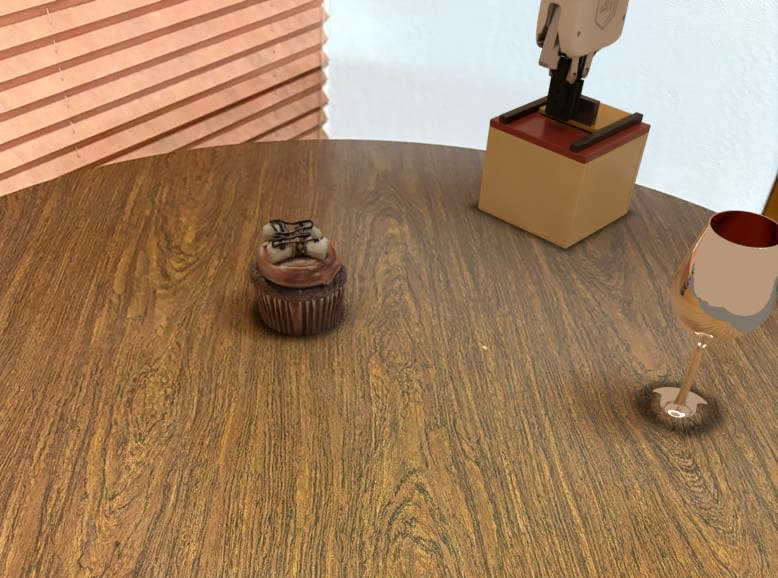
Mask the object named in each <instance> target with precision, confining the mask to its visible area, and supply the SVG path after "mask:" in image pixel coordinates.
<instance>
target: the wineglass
mask: <svg viewBox="0 0 778 578" xmlns="http://www.w3.org/2000/svg"><path fill="white" fill-rule="evenodd" d="M669 296H670V297H669V299H670V304H671V308H672V310H673V313H674V315H675V317H676V318H677V321H678V322H679V323H680V324H681V326H683V328H684V329H685V330H686V331H687V332H688V333H689V335H691V337H692V338H693V340H694V342H695V349H694V352H693V355H692V356H691V360H690V362H689V365H688V367H687V371H686V373H685V375H684V379H683V380H682V383H681V385H680V387H673V386H662V387H658V388H654V389H652V392H654V393H657V394H659V395H660V401H659V405H660V407H661V409H662V410H663V412H665V413H666V414H668V415H669V416H672V417H675V418H680V419H685V418H690V417H692V416H694V415H695V413H697V407H698V404H704V405H708V402H707V401H706V400H705V399H704V398H703V397H702V396H700V395H699V394H696V393H694V392H693V391H690V390H691V387H692V385H693V382H694V379H695V376H696V374H697V372H698V370H699V367H700V364H701V362H702V359H703V357H704V355H705V352H706V350H707V349H708V348H709V347H711V346H713V345H715V344H719V343H723V342H727V341H731V340H736V339H738V338H741V337H744V336H746V335H748V334H749V333H751V332H753V331H755V330H756V329H757V328H759V326H761V325H762V324H763V323H764V322H765V321H766V320H767V319H768V318H769V316H770V315H771V313H772V311H773V310H774V307H775V305H776V302H777V299H778V222H777V221H775V220H774V219H772V218H770V217H768V216H766V215H763V214H760V213H758V212H753V211H748V210H740V209H729V210H722V211H718V212H717V213H714V214H713V215H712V216H711V217H710V218H709V219H708V221H707V222H706V224H705V225H704V227H703V229H702V230H701V231H700V233H699V234H698V236H697V237H696V238H695V240H694V241H693V243H692V244H691V246H690V247H689V249H688V250H687V252H686V253H685V255H684V256H683V258H682V260H681V261H680V263H679V265H678V266H677V268H676V270H675V272H674V275H673V276H672V280H671V283H670V287H669Z"/></svg>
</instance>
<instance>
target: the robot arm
mask: <svg viewBox="0 0 778 578" xmlns="http://www.w3.org/2000/svg"><path fill="white" fill-rule="evenodd" d="M629 2H630V0H540V4H539V10H538V14H537V20H536V21H537V22H536V29H535V43H536V45H537V47H538V48H540V49H541V51H540V55H539V59H538V66H540V67H543V68H545V69H548V77H550V80H549V85H548V91H547V95H548V96H547V95H546V96H547V101H546V106H545V114H546V115H549V116H551V117H554V118H557V119H559V120H562V121H564V122H567V121H570V120H571V119H574V118H576V116H577V112H578V108H579V103H580V99H581V94H582V95H583V89H584V84H585V80H584V79H587V77H588V75H589V74H590V70H591V66H592V62H593V59H594V57H595V56H596V54H597V53H599V52H600V51H601V50H602V49H604V48H607V47H609V46H611V45H613V44H614V43H616V42H617V41H618V40H619V39H620V38H621V36H622V34H623V31H624V27H625V23H626V17H627V12H628V8H629Z"/></svg>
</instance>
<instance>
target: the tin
mask: <svg viewBox="0 0 778 578" xmlns="http://www.w3.org/2000/svg"><path fill="white" fill-rule="evenodd" d="M547 96H548V94H547V95H545V96H542V97H539V98H537V99H535V100H532V101H530V102H528V103H525V104H523V105H521V106H519V107H515V108H513V109H511V110H508V111H506V112H503V113H501V114H499V115H497V116H494V117H492V118H490V119H489V127H488V133H487V138H486V140H487V141H486V147H485V154H484V161H483V169H482V175H481V182H480V183H481V184H480V190H479V197H478V206H477V209H479V210H481V211H483V212H485V213H487V214H490V215H491V216H494V217H496V218H498V219H500V220H503V221H505V222H507V223H509V224H511V225H514V226H516V227H517V228H520V229H522V230H524V231H526V232H529V233H531V234H533V235H535V236H537V237H539V238H541V239H543V240H545V241H547V242H550V243H552V244H553V245H557V246H559V247H560V248H563V249H565V250H566V249H568V248H569V247H572V246H573V245H574V244H576V243H578V242H579V241H581V240H584V239H585V238H587V237H588V236H590V235H592V234H594V233H596V232H597V231H599V230H600V229H602V228H604V227H605V226H607V225H609V224H611V223H612V222H614V221H616V220H618V219H620V218H621V217H623V216H625V215H627V214H628V211H629V207H630V204H631V201H632V196H633V193H634V189H635V185H636V182H637V178H638V174H639V170H640V167H641V164H642V160H643V156H644V152H645V148H646V145H647V142H648V137H649V135H650V130H651V124H649V123H647V122H643V120H644V119H643V118H644V114H643V113H640V112H638V111H636V112H633V113H631V115H629V116H627V117H625V118H623V119H621V120H619V121H616V122H614V123H612V124H610V125H608V126H606V127H604V128H602V129H599V130H597V131H595V132H593V133H592V132H589V131H587V130H584V129H581V128H579V127H576V126H574V125H571V124H568V123H566V122H563V121H560V120H558V119H555V118H553V117H550V116H547V115H545V114H542V113H540V112H539V108H540V107H543V106H545V105H546V101H547Z"/></svg>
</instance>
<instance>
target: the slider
mask: <svg viewBox="0 0 778 578" xmlns="http://www.w3.org/2000/svg"><path fill="white" fill-rule="evenodd" d="M545 106H546V105H545ZM545 106H543V107H540V108H539V112H540V113H542V114H545ZM631 114H632V113H631V112H628V111H625V110H623V109H619V108H618V107H614V106H611V105H608V104H606V103H603V102H601V100H598V99H596V98H593V97H589V96H587V95H585V94H583V93H582V94H581V99H580V103H579V108H578V112H577V116H576V118H574V119H571V120H570V121H567V122H566V123H568V124H571V125H574V126H576V127H579V128H581V129H584V130H587V131H589V132H592V133H593V132H595V131H597V130H599V129H602V128H604V127H606V126H608V125H610V124H612V123H614V122H616V121H619V120H621V119H623V118H625V117H627V116H629V115H631ZM545 115H546V114H545ZM547 116H549V115H547ZM550 117H551V116H550ZM553 118H554V117H553ZM555 119H557V118H555ZM558 120H559V119H558ZM560 121H562V120H560ZM563 122H564V121H563Z"/></svg>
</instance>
